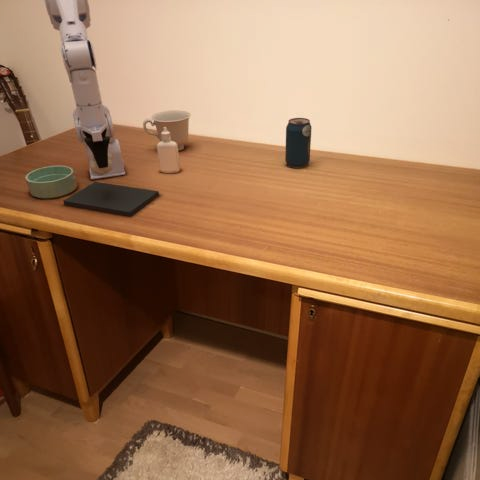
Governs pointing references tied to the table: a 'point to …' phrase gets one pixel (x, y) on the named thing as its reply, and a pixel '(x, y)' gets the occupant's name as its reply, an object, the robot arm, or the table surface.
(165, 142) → the eye dropper bottle
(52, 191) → the bowl
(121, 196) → the desk pad
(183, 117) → the teacup
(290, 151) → the soda can
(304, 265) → the table surface
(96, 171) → the rubber duck
